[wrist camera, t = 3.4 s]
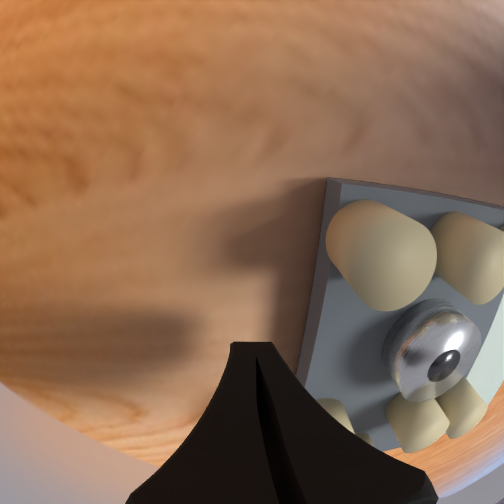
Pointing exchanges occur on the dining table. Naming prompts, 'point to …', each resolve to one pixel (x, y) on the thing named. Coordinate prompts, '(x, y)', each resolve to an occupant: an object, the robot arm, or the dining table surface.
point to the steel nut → (430, 349)
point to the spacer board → (365, 327)
